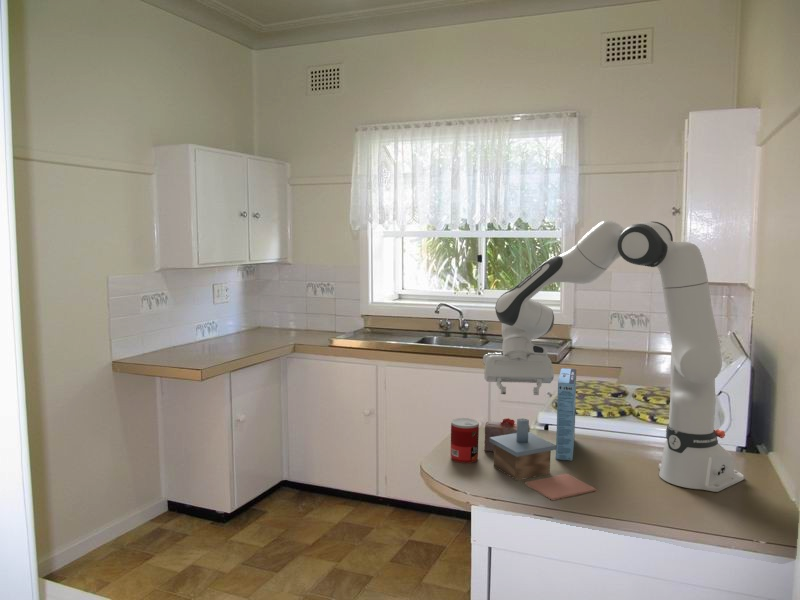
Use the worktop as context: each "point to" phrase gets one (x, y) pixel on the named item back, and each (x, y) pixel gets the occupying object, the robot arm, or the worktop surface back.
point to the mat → (560, 486)
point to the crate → (522, 463)
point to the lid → (522, 441)
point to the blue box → (566, 414)
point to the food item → (498, 431)
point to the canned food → (464, 440)
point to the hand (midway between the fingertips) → (519, 393)
